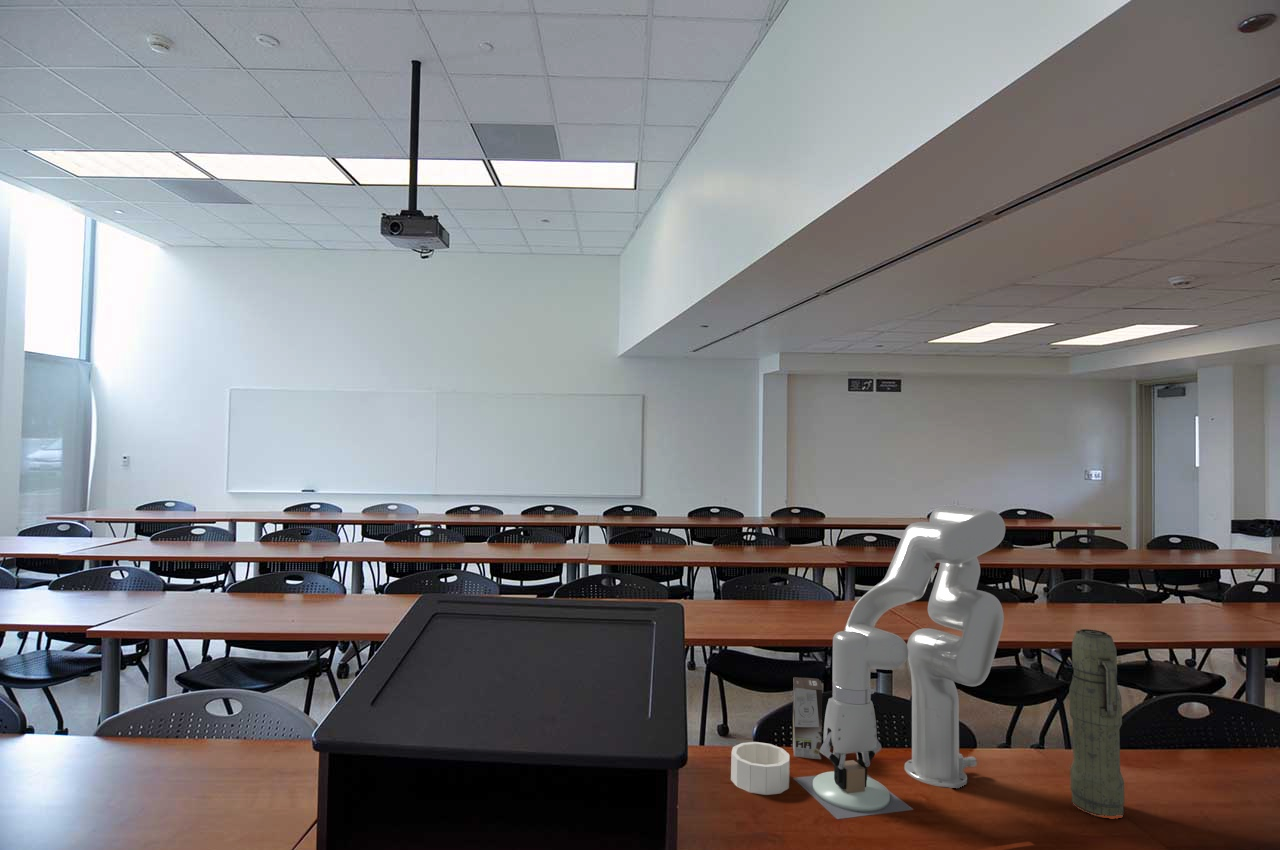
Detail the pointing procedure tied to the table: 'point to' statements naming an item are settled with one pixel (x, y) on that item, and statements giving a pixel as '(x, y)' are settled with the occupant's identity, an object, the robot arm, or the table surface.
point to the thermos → (1096, 725)
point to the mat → (840, 813)
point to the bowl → (760, 768)
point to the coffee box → (807, 717)
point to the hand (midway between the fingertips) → (850, 784)
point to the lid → (852, 790)
